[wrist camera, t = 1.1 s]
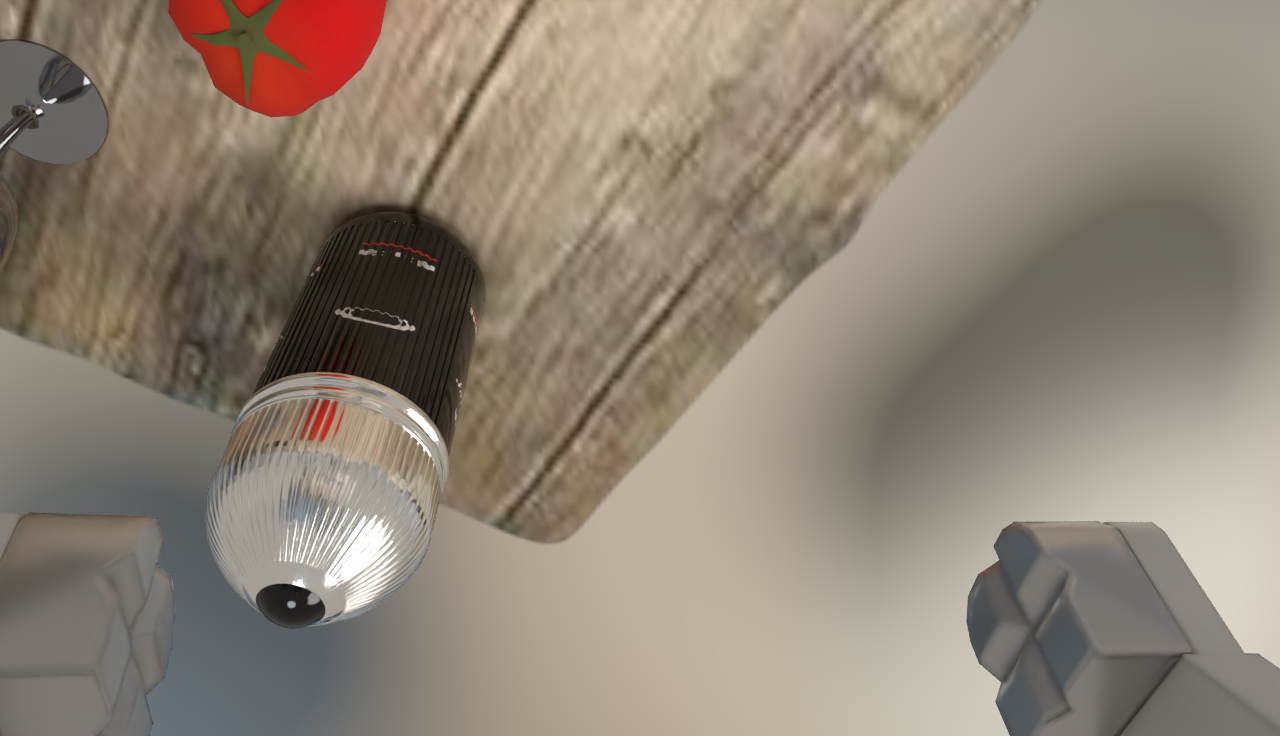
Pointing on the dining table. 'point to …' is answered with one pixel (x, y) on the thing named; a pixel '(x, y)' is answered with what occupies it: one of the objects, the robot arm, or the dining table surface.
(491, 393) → the dining table surface
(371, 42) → the tomato
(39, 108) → the metal goblet
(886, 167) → the dining table surface
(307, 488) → the black silver domed canister
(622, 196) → the dining table surface
